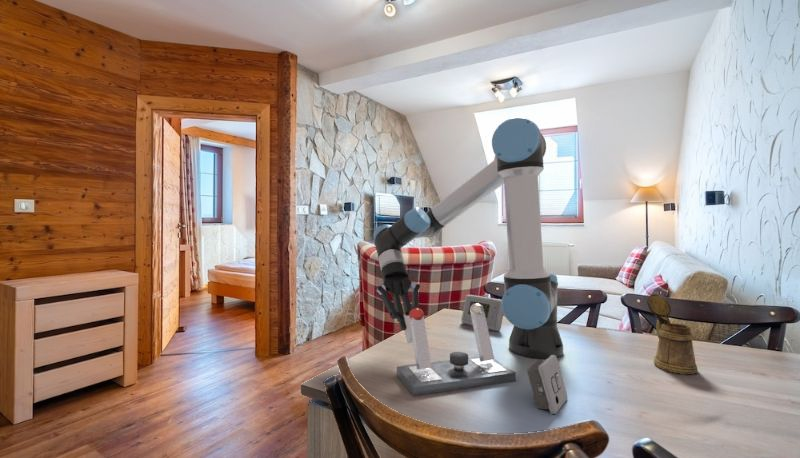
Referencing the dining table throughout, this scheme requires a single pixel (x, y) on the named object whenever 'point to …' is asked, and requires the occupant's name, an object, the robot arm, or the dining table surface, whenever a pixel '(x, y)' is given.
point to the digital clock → (490, 309)
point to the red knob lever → (419, 339)
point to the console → (454, 376)
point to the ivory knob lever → (481, 333)
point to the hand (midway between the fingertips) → (411, 340)
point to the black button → (459, 358)
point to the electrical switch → (547, 384)
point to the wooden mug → (672, 340)
